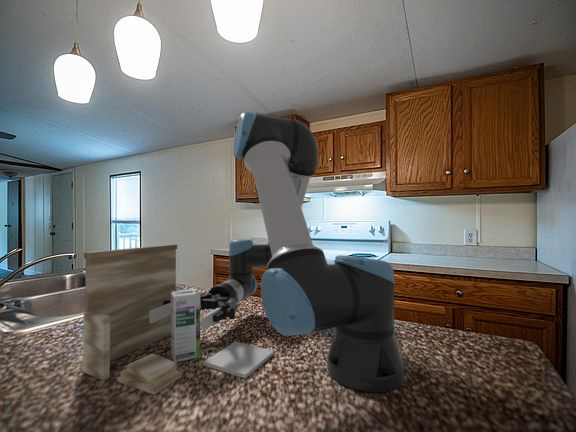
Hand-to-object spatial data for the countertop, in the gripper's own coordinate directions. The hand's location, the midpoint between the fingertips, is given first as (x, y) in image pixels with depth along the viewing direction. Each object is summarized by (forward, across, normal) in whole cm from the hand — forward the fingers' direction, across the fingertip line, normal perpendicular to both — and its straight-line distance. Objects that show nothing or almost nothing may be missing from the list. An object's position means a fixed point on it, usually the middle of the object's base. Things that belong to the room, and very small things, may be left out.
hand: (175, 320), depth 61 cm
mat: (-5, -13, -9) cm, 17 cm away
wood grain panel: (-2, +10, -9) cm, 14 cm away
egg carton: (-35, +22, -10) cm, 43 cm away
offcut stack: (+7, 0, -10) cm, 12 cm away
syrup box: (-3, 0, -9) cm, 10 cm away
